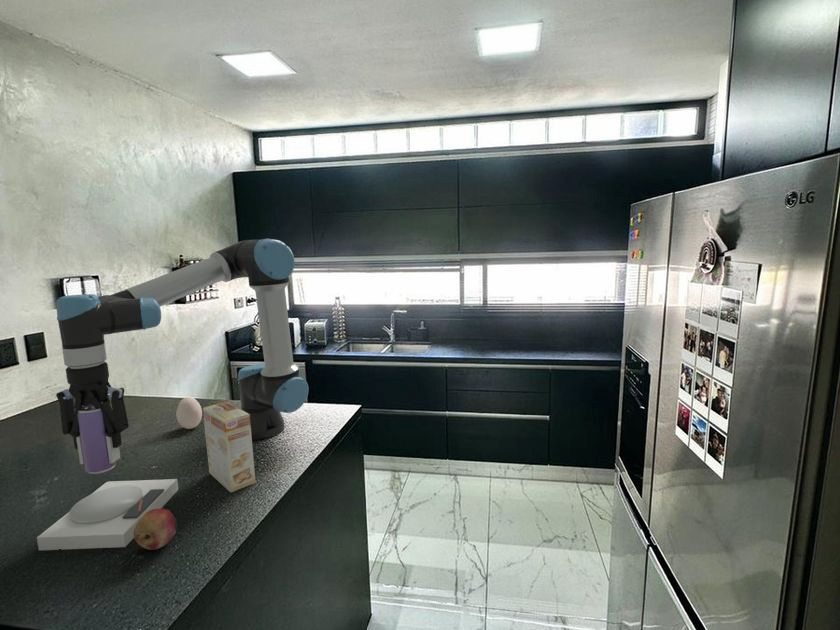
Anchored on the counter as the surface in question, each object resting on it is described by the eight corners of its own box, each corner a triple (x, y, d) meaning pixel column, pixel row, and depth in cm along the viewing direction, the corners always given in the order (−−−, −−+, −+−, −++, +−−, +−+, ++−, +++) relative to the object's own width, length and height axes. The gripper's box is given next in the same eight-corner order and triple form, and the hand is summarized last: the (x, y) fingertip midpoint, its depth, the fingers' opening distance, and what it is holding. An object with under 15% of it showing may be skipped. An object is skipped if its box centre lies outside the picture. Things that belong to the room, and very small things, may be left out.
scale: (178, 489, 115) (176, 475, 114) (125, 547, 93) (122, 529, 92) (108, 492, 114) (106, 478, 114) (38, 550, 92) (35, 533, 92)
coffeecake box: (256, 482, 117) (250, 413, 114) (230, 493, 112) (222, 422, 109) (233, 464, 128) (227, 400, 124) (208, 473, 123) (201, 407, 119)
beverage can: (100, 476, 98) (91, 412, 96) (78, 473, 99) (69, 410, 97) (123, 463, 104) (115, 402, 101) (102, 460, 105) (94, 401, 102)
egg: (208, 425, 155) (205, 395, 153) (187, 434, 148) (184, 402, 147) (194, 422, 159) (190, 392, 157) (173, 430, 152) (169, 399, 150)
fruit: (129, 550, 92) (124, 515, 91) (166, 529, 98) (162, 497, 97) (149, 563, 88) (144, 527, 87) (186, 541, 94) (182, 507, 93)
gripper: (139, 358, 101) (151, 451, 105) (56, 360, 101) (71, 454, 105) (118, 367, 94) (132, 467, 98) (29, 369, 93) (45, 470, 97)
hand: (100, 460), depth 101 cm, fingers closed on beverage can, 6 cm apart
